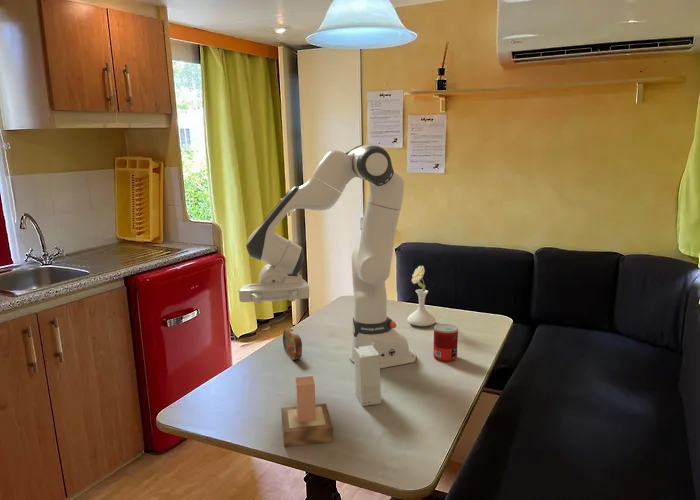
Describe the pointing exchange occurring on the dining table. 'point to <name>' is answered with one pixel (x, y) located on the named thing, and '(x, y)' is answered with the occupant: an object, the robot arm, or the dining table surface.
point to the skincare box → (367, 375)
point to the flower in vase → (420, 302)
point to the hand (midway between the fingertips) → (275, 299)
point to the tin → (292, 344)
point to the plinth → (306, 427)
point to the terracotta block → (305, 399)
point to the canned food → (445, 342)
